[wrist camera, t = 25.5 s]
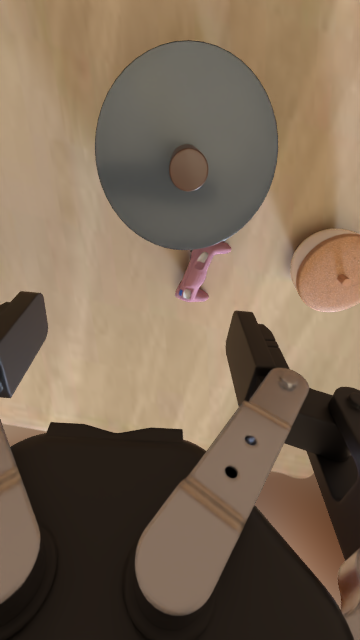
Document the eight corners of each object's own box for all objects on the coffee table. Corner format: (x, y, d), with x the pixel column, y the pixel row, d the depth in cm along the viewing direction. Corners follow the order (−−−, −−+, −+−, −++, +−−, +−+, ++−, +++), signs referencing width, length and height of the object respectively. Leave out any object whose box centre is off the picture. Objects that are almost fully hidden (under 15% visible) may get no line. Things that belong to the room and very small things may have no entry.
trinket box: (369, 241, 43) (412, 266, 35) (318, 298, 48) (346, 330, 41) (314, 204, 41) (347, 222, 33) (266, 268, 46) (284, 298, 38)
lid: (98, 234, 26) (79, 260, 21) (97, 26, 19) (67, -13, 14) (247, 254, 27) (263, 284, 22) (300, 65, 20) (342, 43, 15)
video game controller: (208, 230, 44) (189, 236, 38) (235, 244, 43) (220, 252, 37) (184, 287, 49) (165, 299, 43) (208, 300, 48) (192, 315, 42)
